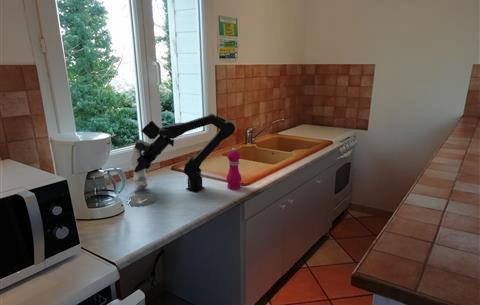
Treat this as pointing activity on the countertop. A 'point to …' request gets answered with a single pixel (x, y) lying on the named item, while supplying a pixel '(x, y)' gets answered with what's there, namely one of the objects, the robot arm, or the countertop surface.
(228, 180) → the pepper mill
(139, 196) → the round gray disc
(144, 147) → the robot arm
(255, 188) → the countertop surface
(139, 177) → the silver bottle
